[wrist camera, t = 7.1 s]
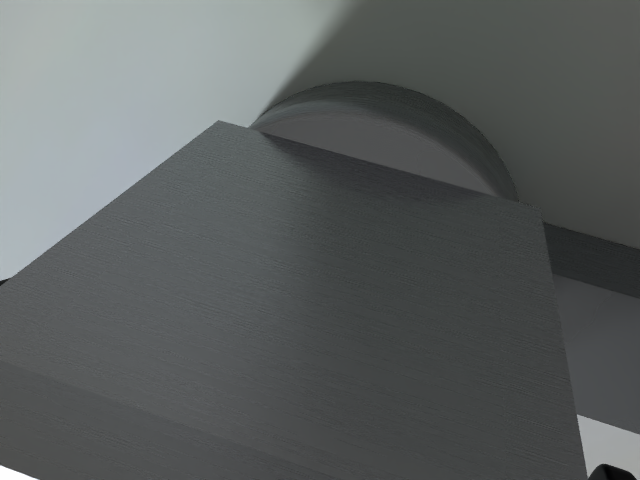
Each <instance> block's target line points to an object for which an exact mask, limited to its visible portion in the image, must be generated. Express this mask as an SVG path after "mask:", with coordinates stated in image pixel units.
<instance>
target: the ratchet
mask: <svg viewBox="0 0 640 480" xmlns="http://www.w3.org/2000/svg"><path fill="white" fill-rule="evenodd" d="M248 128H249V129H252V130H256V131H259V132H263V133H267V134H270V135H274V136H278V137H281V138H285V139H289V140H292V141H296V142H300V143H303V144H307V145H311V146H314V147H318V148H321V149H325V150H329V151H332V152H336V153H340V154H343V155H347V156H351V157H354V158H358V159H362V160H365V161H369V162H373V163H376V164H380V165H383V166H387V167H391V168H394V169H398V170H402V171H405V172H409V173H413V174H416V175H420V176H424V177H427V178H431V179H435V180H438V181H442V182H445V183H449V184H453V185H456V186H460V187H464V188H467V189H471V190H475V191H478V192H482V193H486V194H489V195H493V196H497V197H500V198H504V199H508V200H511V201H515V202H518V203H519V200H518V196H517V193H516V189H515V186H514V183H513V181H512V179H511V177H510V175H509V172H508V170H507V168H506V166H505V164H504V163H503V161H502V160H501V158H500V157H499V155H498V154H497V152H496V150H495V149H494V148H493V146H492V145H491V144H490V143H489V142H488V141H487V139H486V138H485V137H484V136H483V135H482V134H481V133H480V131H478V130H477V129H476V128H475V127H474V126H473V125H472V124H470V123H469V122H468V121H467V120H466V119H465V118H464V117H462V116H461V115H459V114H458V113H456V112H455V111H453V110H452V109H450V108H449V107H447V106H446V105H444V104H442V103H440V102H438V101H436V100H434V99H432V98H430V97H428V96H426V95H424V94H421V93H418V92H415V91H412V90H409V89H406V88H403V87H399V86H394V85H389V84H384V83H378V82H361V81H353V82H340V83H332V84H327V85H323V86H318V87H314V88H311V89H308V90H305V91H303V92H300V93H297V94H295V95H293V96H291V97H289V98H287V99H285V100H284V101H282V102H280V103H278V104H276V105H275V106H274V107H272V108H271V109H270V110H268V111H267V112H266V113H264V114H263V115H262V116H261V117H260V118H258V119H257V120H256V121H255V122H254V123H253V124H252V125H251V126H249V127H248ZM543 227H544V232H545V238H546V244H547V249H548V255H549V261H550V266H551V272H552V278H553V283H554V289H555V295H556V300H557V306H558V312H559V317H560V323H561V329H562V334H563V340H564V346H565V351H566V357H567V363H568V368H569V374H570V380H571V385H572V391H573V397H574V402H575V408H576V414H578V415H581V416H584V417H587V418H590V419H594V420H597V421H600V422H603V423H606V424H609V425H612V426H615V427H618V428H622V429H625V430H628V431H631V432H634V433H637V434H640V250H638V249H634V248H631V247H627V246H624V245H620V244H617V243H613V242H610V241H606V240H603V239H599V238H595V237H592V236H588V235H585V234H581V233H578V232H574V231H571V230H567V229H564V228H560V227H556V226H553V225H549V224H546V223H543Z"/></svg>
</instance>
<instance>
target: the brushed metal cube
mask: <svg viewBox="0 0 640 480" xmlns="http://www.w3.org/2000/svg"><path fill="white" fill-rule="evenodd" d="M0 480H588V476H587V470H586V464H585V459H584V453H583V448H582V442H581V436H580V431H579V425H578V419H577V414H576V408H575V402H574V397H573V391H572V385H571V380H570V374H569V368H568V363H567V357H566V351H565V346H564V340H563V334H562V329H561V323H560V317H559V312H558V306H557V300H556V295H555V289H554V283H553V278H552V272H551V266H550V261H549V255H548V249H547V244H546V238H545V232H544V227H543V221H542V215H541V210H540V208H537V207H533V206H529V205H526V204H522V203H518V202H515V201H511V200H508V199H504V198H500V197H497V196H493V195H489V194H486V193H482V192H478V191H475V190H471V189H467V188H464V187H460V186H456V185H453V184H449V183H445V182H442V181H438V180H435V179H431V178H427V177H424V176H420V175H416V174H413V173H409V172H405V171H402V170H398V169H394V168H391V167H387V166H383V165H380V164H376V163H373V162H369V161H365V160H362V159H358V158H354V157H351V156H347V155H343V154H340V153H336V152H332V151H329V150H325V149H321V148H318V147H314V146H311V145H307V144H303V143H300V142H296V141H292V140H289V139H285V138H281V137H278V136H274V135H270V134H267V133H263V132H259V131H256V130H252V129H249V128H245V127H241V126H238V125H234V124H230V123H227V122H223V121H219V120H218V121H217V122H216V123H214V124H213V125H212V126H210V127H209V128H208V129H206V130H205V131H204V132H202V133H201V134H200V135H198V136H197V137H196V138H195V139H193V140H192V141H191V142H189V143H188V144H187V145H185V146H184V147H183V148H181V149H180V150H179V151H177V152H176V153H175V154H173V155H172V156H171V157H170V158H168V159H167V160H166V161H164V162H163V163H162V164H160V165H159V166H158V167H156V168H155V169H154V170H152V171H151V172H150V173H148V174H147V175H146V176H145V177H143V178H142V179H141V180H139V181H138V182H137V183H135V184H134V185H133V186H131V187H130V188H129V189H127V190H126V191H125V192H123V193H122V194H121V195H120V196H118V197H117V198H116V199H114V200H113V201H112V202H110V203H109V204H108V205H106V206H105V207H104V208H102V209H101V210H100V211H99V212H97V213H96V214H95V215H93V216H92V217H91V218H89V219H88V220H87V221H85V222H84V223H83V224H81V225H80V226H79V227H77V228H76V229H75V230H74V231H72V232H71V233H70V234H68V235H67V236H66V237H64V238H63V239H62V240H60V241H59V242H58V243H56V244H55V245H54V246H52V247H51V248H50V249H49V250H47V251H46V252H45V253H43V254H42V255H41V256H39V257H38V258H37V259H35V260H34V261H33V262H31V263H30V264H29V265H27V266H26V267H25V268H24V269H22V270H21V271H20V272H18V273H17V274H16V275H14V276H13V277H12V278H10V279H9V280H8V281H6V282H5V283H4V284H2V285H1V286H0Z"/></svg>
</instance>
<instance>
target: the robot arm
mask: <svg viewBox="0 0 640 480" xmlns="http://www.w3.org/2000/svg"><path fill="white" fill-rule="evenodd" d="M9 279H10V278H8V279H5V280H2V281H0V286H1V285H2V284H4V283H5V282H6V281H8V280H9ZM588 480H637V479H636V478H635V477H634V476H633V475H632V474H631V473H630V472H628V471H626V470H623V469H620V468H617V467H614V466H611V465H608V464H600V465H599V466H597V467H596V468H595V470H594V471H593V472H592V474H591V475H590V477H589V478H588Z"/></svg>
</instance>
